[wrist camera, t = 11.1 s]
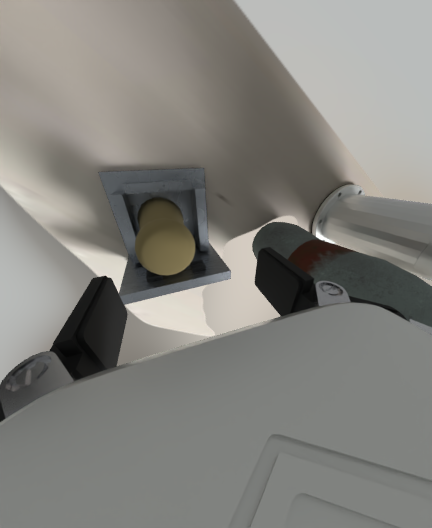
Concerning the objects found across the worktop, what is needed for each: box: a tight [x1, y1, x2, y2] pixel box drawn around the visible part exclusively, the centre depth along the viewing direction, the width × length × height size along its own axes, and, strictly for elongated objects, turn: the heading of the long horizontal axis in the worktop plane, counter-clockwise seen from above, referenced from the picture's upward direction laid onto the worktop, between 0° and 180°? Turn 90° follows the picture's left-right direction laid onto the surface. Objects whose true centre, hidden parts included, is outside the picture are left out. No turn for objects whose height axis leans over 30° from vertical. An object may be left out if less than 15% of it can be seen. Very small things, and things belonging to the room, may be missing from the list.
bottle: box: [252, 222, 432, 327], centre depth 19 cm, size 9×9×30 cm
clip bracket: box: [98, 168, 231, 305], centre depth 19 cm, size 12×12×10 cm
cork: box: [135, 197, 195, 275], centre depth 17 cm, size 6×6×11 cm
